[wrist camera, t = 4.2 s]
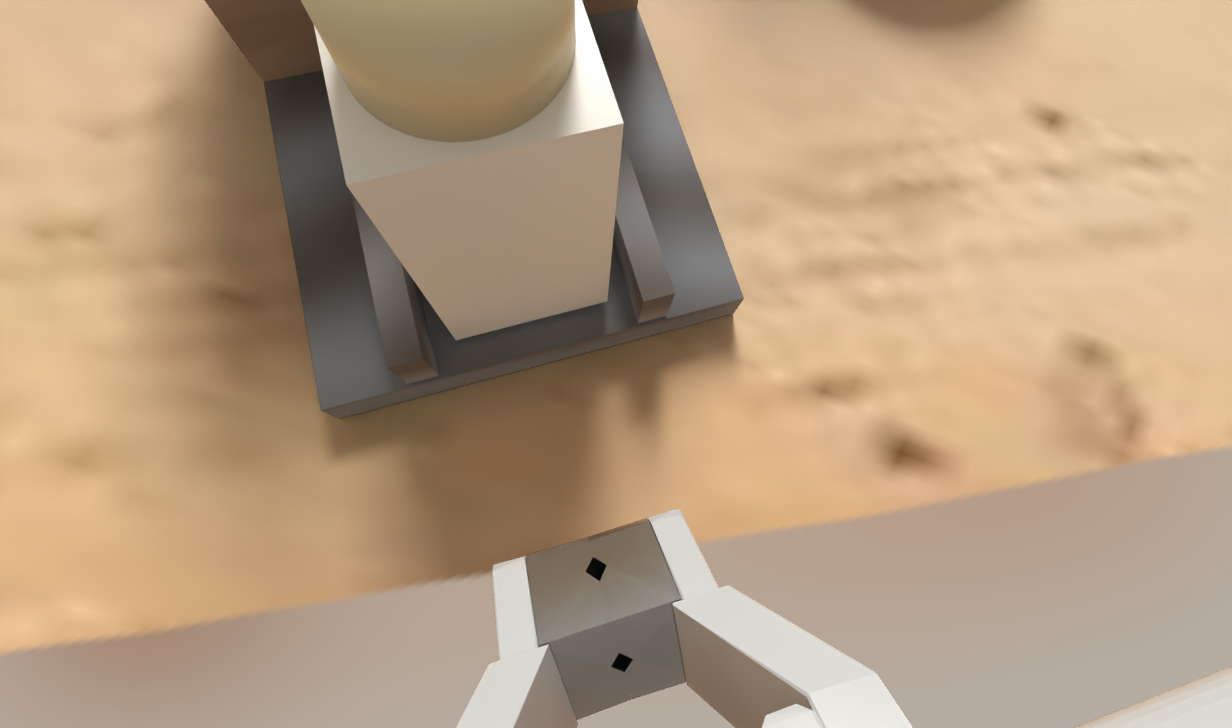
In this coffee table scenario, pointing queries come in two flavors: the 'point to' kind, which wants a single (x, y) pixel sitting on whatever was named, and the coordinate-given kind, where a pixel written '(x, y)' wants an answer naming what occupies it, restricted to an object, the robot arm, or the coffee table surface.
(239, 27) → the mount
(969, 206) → the coffee table surface
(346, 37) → the knob
